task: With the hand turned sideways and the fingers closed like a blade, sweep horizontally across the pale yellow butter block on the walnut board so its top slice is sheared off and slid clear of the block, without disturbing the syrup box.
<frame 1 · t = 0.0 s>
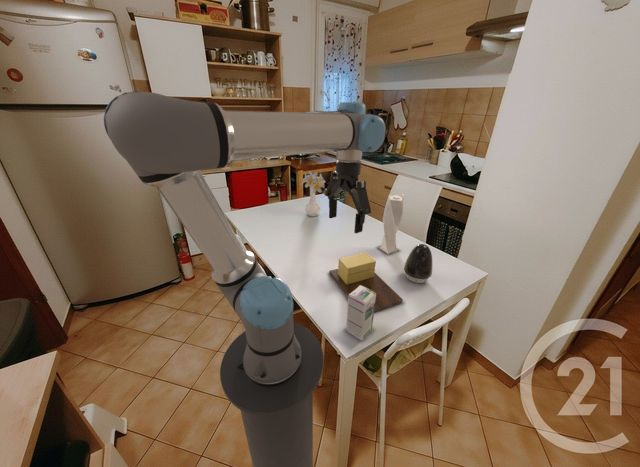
hand: (344, 224, 88), 25 cm above the table, tool pointing down, fingers open, 13 cm apart
skyscraper: (388, 250, 122), on the table
walnut board: (355, 278, 102), on the table
butter block: (355, 275, 102), resting on walnut board
flower vase: (313, 215, 157), on the table
butter slice: (356, 263, 99), point 7 cm above the table, slide at 0.0 cm
dark egg on stand: (415, 279, 103), on the table
syrup box: (358, 330, 80), on the table
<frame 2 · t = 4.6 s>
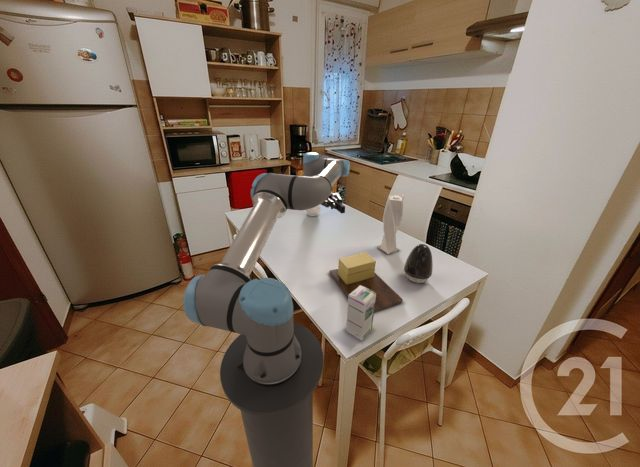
hand: (343, 210, 103), 24 cm above the table, tool horizontal, fingers closed
nothing on the table moved.
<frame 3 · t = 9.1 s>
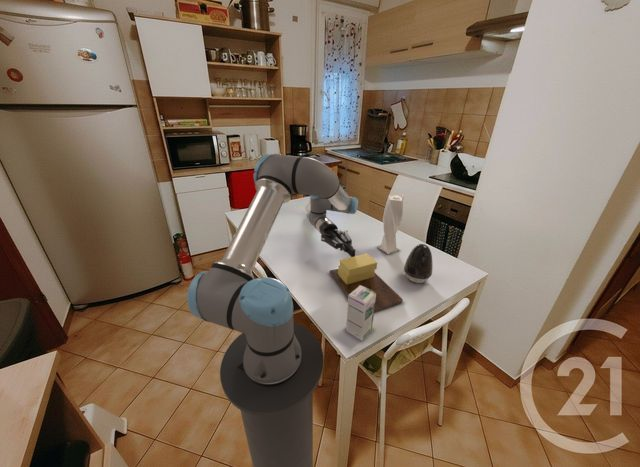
hand: (353, 253, 100), 10 cm above the table, tool horizontal, fingers closed
butter slice: (358, 264, 98), point 7 cm above the table, slide at 0.9 cm, touching gripper
everything else where it was.
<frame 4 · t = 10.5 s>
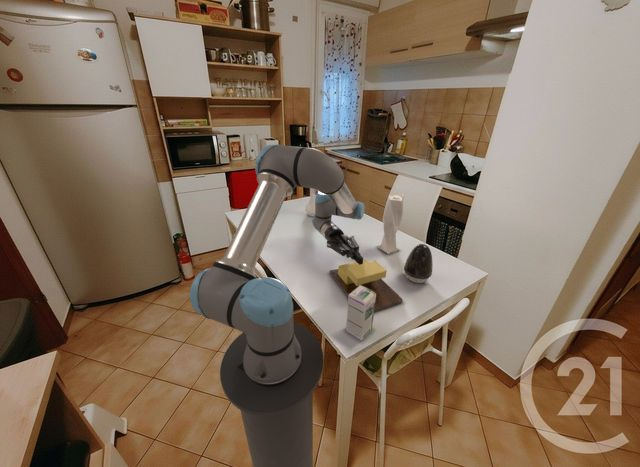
hand: (361, 261, 96), 10 cm above the table, tool horizontal, fingers closed
butter slice: (366, 272, 94), point 7 cm above the table, slide at 6.5 cm, touching gripper
everything else where it was.
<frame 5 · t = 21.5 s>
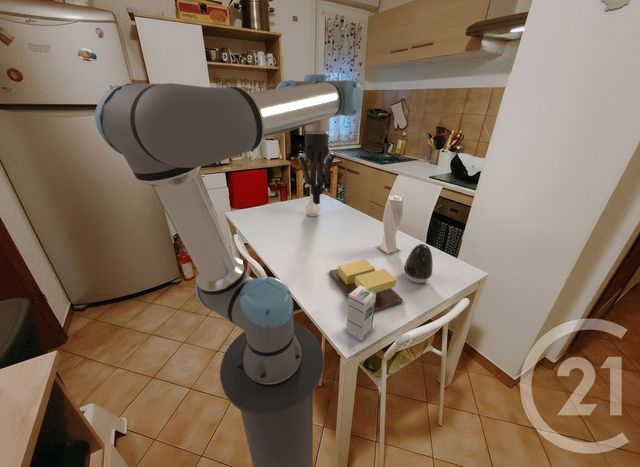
hand: (316, 202, 93), 29 cm above the table, tool pointing down, fingers closed
butter slice: (375, 281, 89), point 7 cm above the table, slide at 12.0 cm
everything else where it was.
at the end: butter slice slide at 12.0 cm; syrup box moved 0.2 cm from its start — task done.
